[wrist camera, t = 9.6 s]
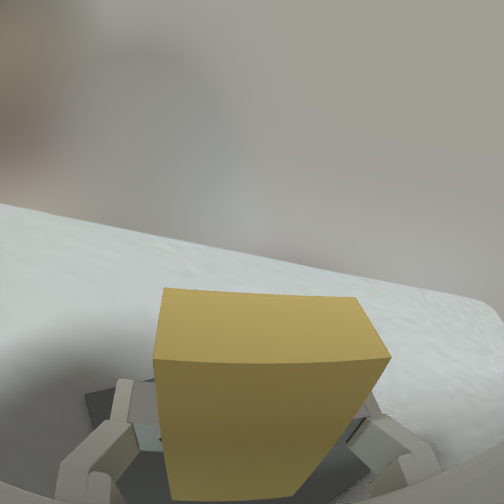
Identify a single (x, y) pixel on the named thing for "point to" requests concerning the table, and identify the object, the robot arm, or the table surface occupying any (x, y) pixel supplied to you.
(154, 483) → the mat
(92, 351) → the table surface
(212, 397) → the box
